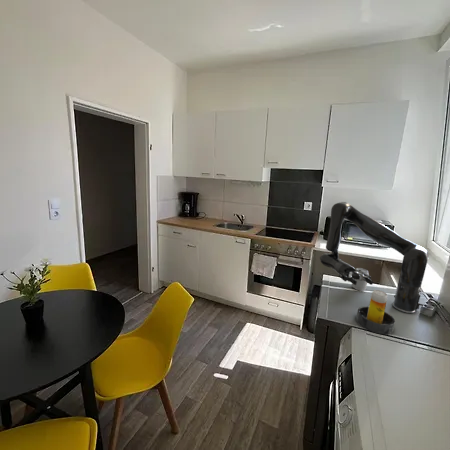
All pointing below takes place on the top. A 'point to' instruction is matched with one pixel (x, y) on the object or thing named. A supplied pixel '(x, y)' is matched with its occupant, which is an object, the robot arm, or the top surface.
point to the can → (360, 284)
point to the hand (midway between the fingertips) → (364, 283)
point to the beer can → (377, 306)
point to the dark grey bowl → (372, 326)
